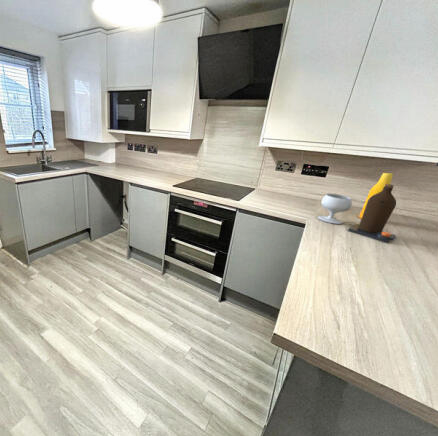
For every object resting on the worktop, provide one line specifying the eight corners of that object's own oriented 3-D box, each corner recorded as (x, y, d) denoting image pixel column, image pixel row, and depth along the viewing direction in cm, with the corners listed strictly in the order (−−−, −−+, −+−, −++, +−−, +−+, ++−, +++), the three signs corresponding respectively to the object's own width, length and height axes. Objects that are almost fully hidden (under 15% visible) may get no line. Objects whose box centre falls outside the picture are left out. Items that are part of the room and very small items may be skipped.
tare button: (390, 236, 117) (392, 233, 116) (388, 237, 115) (390, 234, 114) (382, 233, 119) (383, 231, 119) (380, 235, 117) (381, 232, 117)
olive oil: (387, 235, 120) (410, 188, 111) (362, 232, 123) (383, 185, 114) (375, 228, 130) (395, 183, 121) (352, 224, 132) (371, 181, 123)
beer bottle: (361, 215, 154) (379, 171, 143) (379, 220, 147) (400, 174, 136) (356, 218, 149) (375, 172, 138) (375, 223, 142) (397, 175, 131)
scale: (397, 238, 122) (400, 233, 121) (389, 244, 114) (392, 238, 113) (357, 226, 135) (359, 221, 134) (347, 230, 127) (349, 225, 126)
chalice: (343, 220, 143) (352, 196, 138) (345, 227, 132) (355, 201, 127) (315, 214, 150) (323, 191, 145) (315, 220, 139) (324, 196, 134)
